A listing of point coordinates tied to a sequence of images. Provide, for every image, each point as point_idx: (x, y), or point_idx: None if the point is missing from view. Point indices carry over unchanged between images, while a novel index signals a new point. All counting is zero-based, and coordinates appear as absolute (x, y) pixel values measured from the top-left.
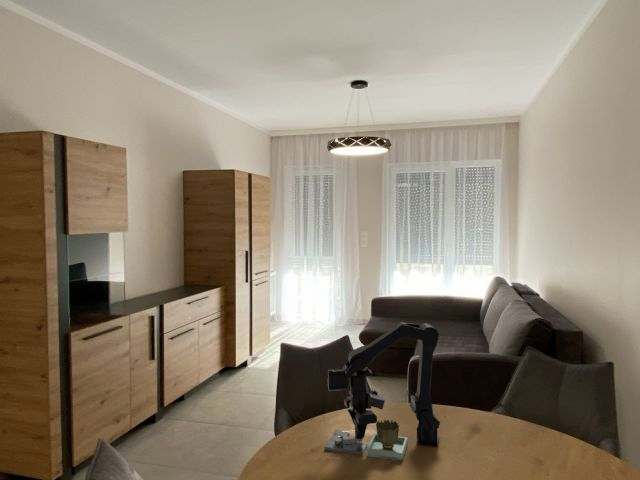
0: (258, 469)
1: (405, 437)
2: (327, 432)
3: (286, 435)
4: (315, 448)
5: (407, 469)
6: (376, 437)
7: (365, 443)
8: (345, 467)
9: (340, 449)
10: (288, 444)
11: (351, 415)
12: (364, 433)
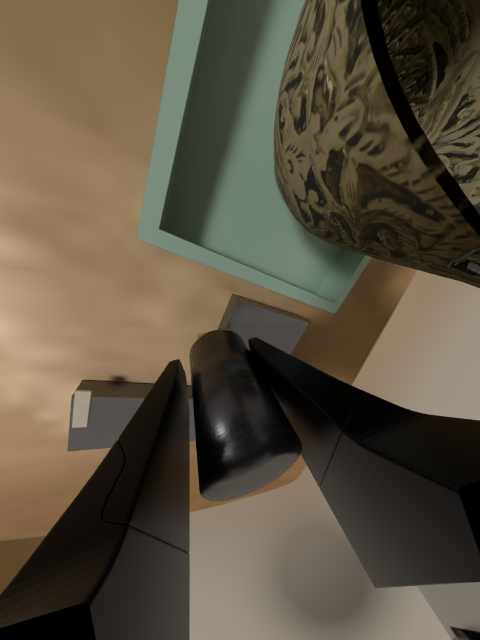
0: (288, 477)
1: None
2: (76, 458)
3: None
4: None
5: None
6: (162, 223)
7: (236, 309)
8: (341, 361)
9: None
10: (195, 491)
11: (184, 618)
12: (275, 349)
